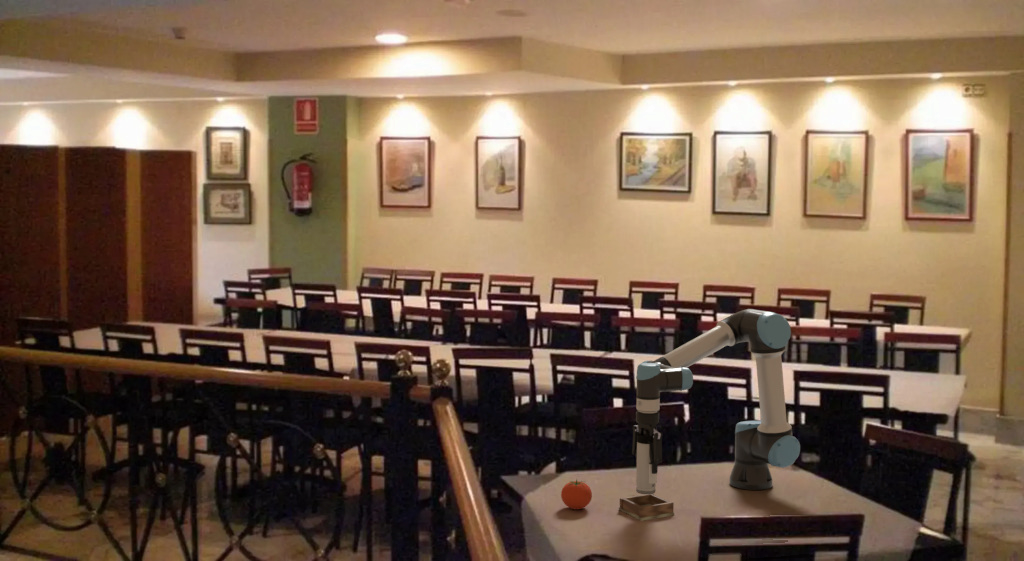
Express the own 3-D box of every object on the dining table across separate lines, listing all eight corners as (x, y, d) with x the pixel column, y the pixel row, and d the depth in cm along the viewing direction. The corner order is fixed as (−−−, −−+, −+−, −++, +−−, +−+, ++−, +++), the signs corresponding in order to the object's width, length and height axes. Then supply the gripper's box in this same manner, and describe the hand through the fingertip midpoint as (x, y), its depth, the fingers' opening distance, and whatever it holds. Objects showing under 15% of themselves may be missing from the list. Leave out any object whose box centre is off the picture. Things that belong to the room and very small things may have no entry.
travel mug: (658, 494, 340) (659, 433, 338) (639, 495, 339) (640, 434, 337) (653, 488, 346) (654, 429, 344) (634, 489, 345) (634, 430, 343)
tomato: (555, 506, 350) (556, 477, 349) (583, 502, 354) (583, 473, 353) (569, 514, 340) (569, 484, 340) (597, 511, 344) (597, 481, 344)
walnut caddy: (651, 504, 352) (651, 492, 352) (674, 515, 340) (674, 502, 340) (618, 509, 346) (618, 498, 346) (641, 520, 334) (641, 508, 334)
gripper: (621, 406, 347) (620, 474, 349) (655, 417, 330) (654, 489, 332) (640, 404, 351) (639, 472, 352) (674, 415, 334) (673, 486, 336)
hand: (646, 480), depth 342 cm, fingers closed on travel mug, 6 cm apart
